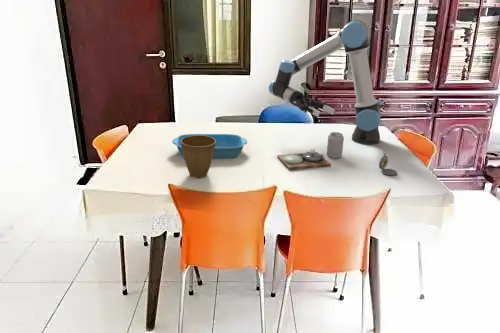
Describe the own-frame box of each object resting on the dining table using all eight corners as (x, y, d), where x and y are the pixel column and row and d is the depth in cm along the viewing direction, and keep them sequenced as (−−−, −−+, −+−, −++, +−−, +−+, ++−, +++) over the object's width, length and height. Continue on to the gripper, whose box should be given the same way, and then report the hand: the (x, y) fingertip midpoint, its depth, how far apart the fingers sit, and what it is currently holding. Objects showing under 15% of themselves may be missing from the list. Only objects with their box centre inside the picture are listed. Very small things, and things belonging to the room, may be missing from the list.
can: (324, 154, 218) (326, 131, 214) (339, 153, 219) (341, 131, 214) (328, 159, 211) (330, 136, 207) (343, 159, 212) (346, 136, 208)
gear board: (316, 154, 217) (317, 152, 216) (330, 166, 203) (331, 163, 202) (277, 158, 211) (277, 155, 211) (288, 170, 197) (288, 167, 197)
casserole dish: (244, 145, 228) (244, 132, 226) (249, 160, 208) (249, 146, 205) (173, 146, 224) (173, 133, 221) (171, 162, 204) (171, 148, 201)
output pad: (298, 156, 210) (298, 154, 210) (305, 163, 202) (305, 161, 202) (280, 157, 208) (280, 155, 207) (287, 164, 200) (287, 162, 199)
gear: (318, 154, 214) (318, 145, 212) (327, 161, 204) (328, 152, 203) (298, 155, 211) (298, 146, 209) (306, 163, 202) (307, 154, 200)
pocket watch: (397, 176, 193) (401, 156, 190) (378, 175, 195) (381, 154, 191) (395, 170, 201) (399, 149, 197) (377, 168, 202) (380, 148, 199)
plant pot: (187, 183, 181) (186, 147, 175) (178, 170, 194) (176, 136, 188) (220, 178, 187) (220, 143, 181) (209, 166, 199) (209, 133, 193)
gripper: (305, 102, 236) (337, 117, 225) (277, 105, 218) (309, 122, 206) (309, 89, 233) (342, 104, 221) (281, 91, 215) (314, 107, 203)
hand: (326, 113), depth 214 cm, fingers open, 13 cm apart
